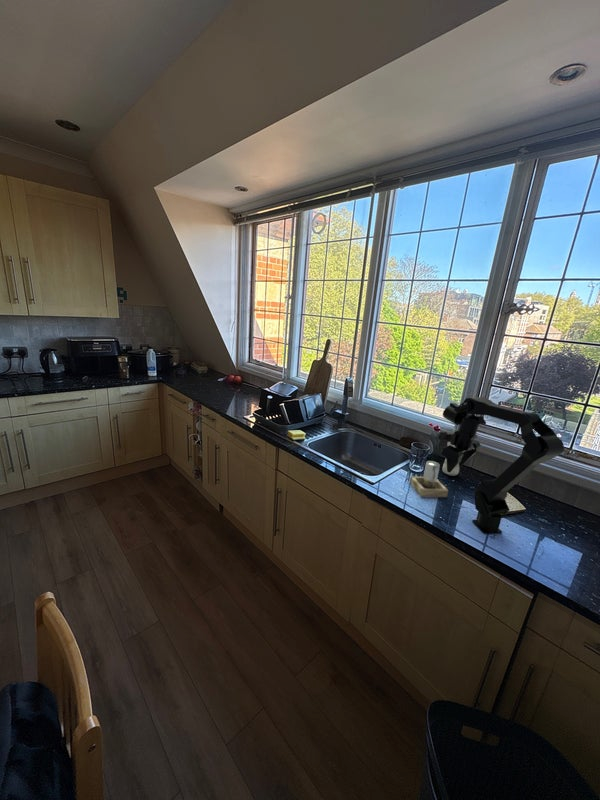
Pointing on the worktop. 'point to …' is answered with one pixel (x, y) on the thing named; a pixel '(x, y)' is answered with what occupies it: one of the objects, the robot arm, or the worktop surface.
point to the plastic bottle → (453, 472)
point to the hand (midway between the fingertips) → (454, 468)
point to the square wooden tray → (437, 492)
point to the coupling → (430, 475)
